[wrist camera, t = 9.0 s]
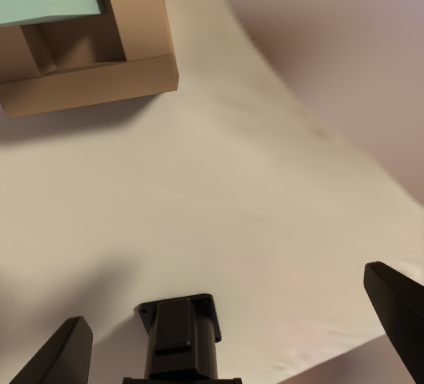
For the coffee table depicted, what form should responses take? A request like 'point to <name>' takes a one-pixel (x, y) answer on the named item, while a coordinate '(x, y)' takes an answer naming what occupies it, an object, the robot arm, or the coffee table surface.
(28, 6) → the pale green block
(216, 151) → the coffee table surface
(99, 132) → the coffee table surface
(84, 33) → the track
